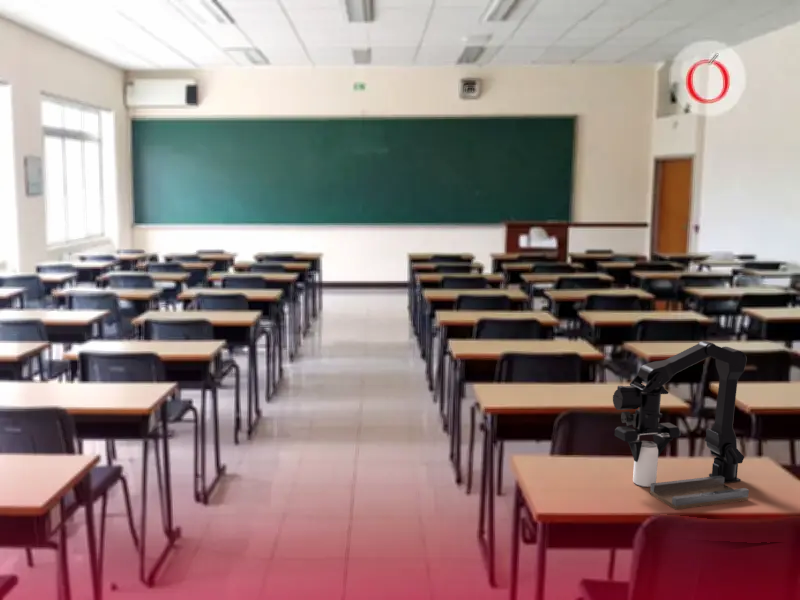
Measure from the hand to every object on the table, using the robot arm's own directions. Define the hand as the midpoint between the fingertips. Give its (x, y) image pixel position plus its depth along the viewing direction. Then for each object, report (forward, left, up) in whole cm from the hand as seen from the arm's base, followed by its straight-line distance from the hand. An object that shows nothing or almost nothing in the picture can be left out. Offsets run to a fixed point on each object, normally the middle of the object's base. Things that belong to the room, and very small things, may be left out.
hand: (645, 460), depth 219 cm
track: (-9, +12, -7) cm, 17 cm away
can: (0, 0, -7) cm, 7 cm away
